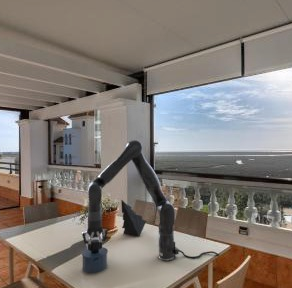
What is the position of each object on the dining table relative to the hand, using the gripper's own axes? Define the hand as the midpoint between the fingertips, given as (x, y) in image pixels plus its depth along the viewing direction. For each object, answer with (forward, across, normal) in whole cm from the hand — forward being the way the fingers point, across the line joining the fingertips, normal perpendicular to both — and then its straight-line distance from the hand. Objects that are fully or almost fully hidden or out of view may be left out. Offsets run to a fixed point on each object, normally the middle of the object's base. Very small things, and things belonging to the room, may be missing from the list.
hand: (94, 249), depth 135 cm
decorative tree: (+11, -31, -42) cm, 53 cm away
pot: (+10, 0, 0) cm, 10 cm away
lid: (+2, 0, 0) cm, 2 cm away
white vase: (+11, -1, -18) cm, 21 cm away
